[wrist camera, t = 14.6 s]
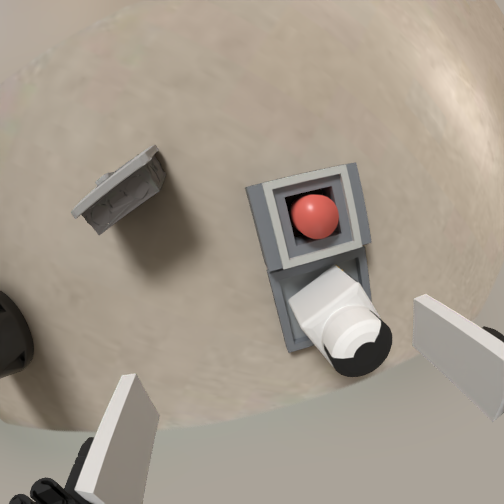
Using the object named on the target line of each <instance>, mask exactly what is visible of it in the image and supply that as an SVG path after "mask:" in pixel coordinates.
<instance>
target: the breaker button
mask: <svg viewBox="0 0 504 504" xmlns="http://www.w3.org/2000/svg"><path fill="white" fill-rule="evenodd" d="M289 218H290V221H291V223H292V225H293V226H294V227H295V228H296V229H297V230H298V231H300V232H301V233H303V234H304V235H306V236H307V237H309V238H312V239H323V238H325V237H327V236H329V235H330V234H332V233H333V231H334V230H335V229H336V227H337V224H338V221H339V213H338V209H337V207H336V205H335V203H334V202H333V201H332V200H331V199H329V198H328V197H326V196H323V195H314V194H304V195H301V196H299V197H297V198H296V199H295V200H294V201H293V203H292V204H291V206H290V210H289Z"/></svg>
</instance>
